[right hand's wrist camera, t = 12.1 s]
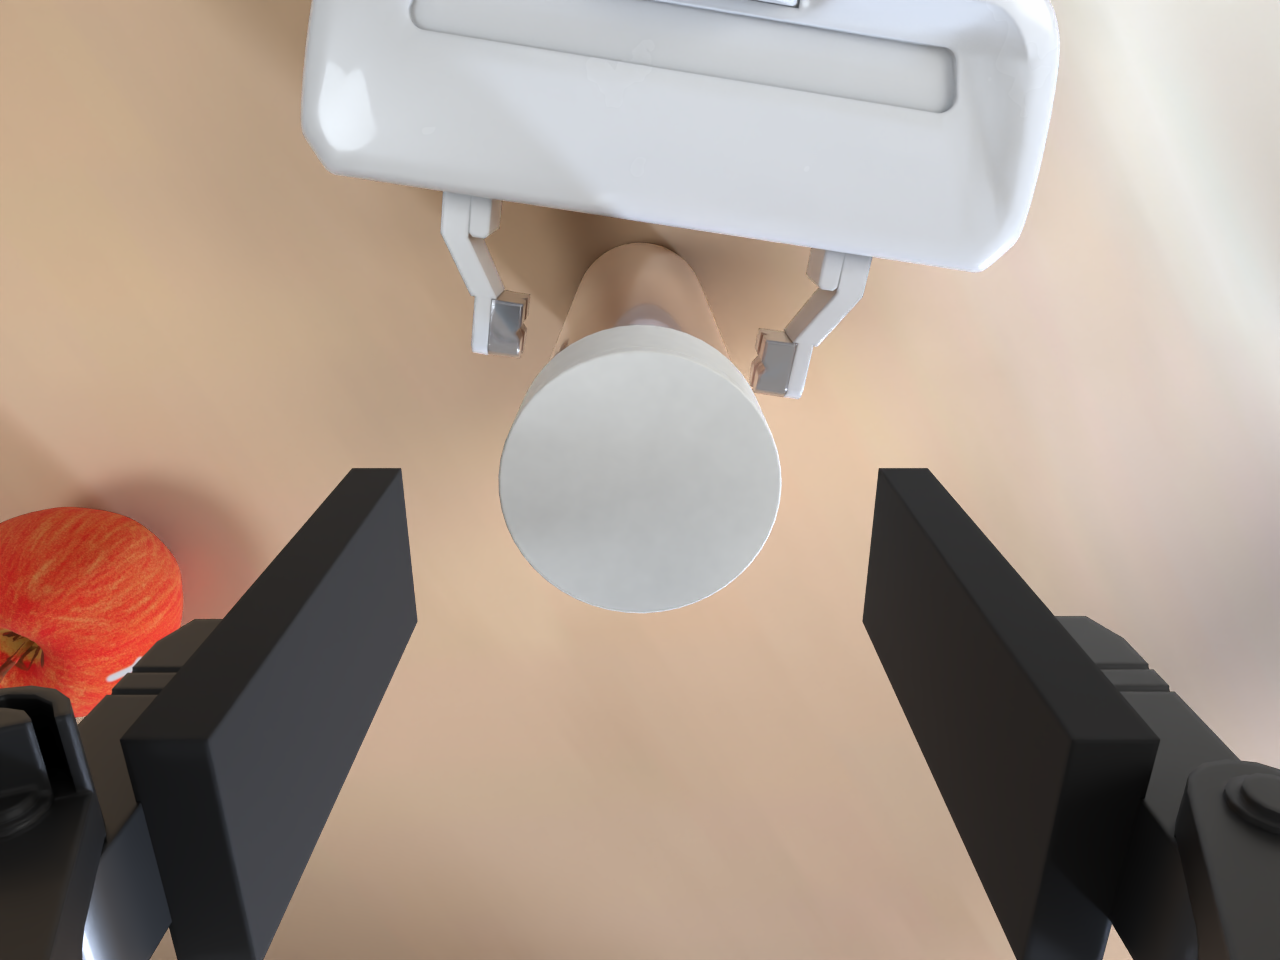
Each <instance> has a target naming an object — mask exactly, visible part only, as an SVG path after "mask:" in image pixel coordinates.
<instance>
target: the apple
mask: <svg viewBox="0 0 1280 960" xmlns="http://www.w3.org/2000/svg"><path fill="white" fill-rule="evenodd" d="M182 610H183V591H182V579H181V574H180V570H179V567H178V564H177V562H176V560H175V558H174V557H173V555H172V554H171V552H170V551H169V549H168V548H167V547H166V546H165V545H164V544H163V543H162V542H161V541H160V540H159V539H158V538H157V537H156V536H155V535H154V534H153V533H152V532H150V531H149V530H148V529H147V528H145V527H144V526H143V525H141V524H139V523H138V522H136V521H134V520H132V519H130V518H128V517H125V516H123V515H120V514H117V513H113V512H109V511H104V510H97V509H89V508H79V507H59V508H51V509H46V510H41V511H36V512H31V513H27V514H24V515H20V516H18V517H15V518H12V519H9V520H7V521H4V522H2V523H0V688H10V687H20V686H31V685H32V686H39V687H46V688H53V689H57V690H58V691H60V692H61V693H62V694H64V695H65V696H67V697H68V698H69V699H70V701H71V705H72V708H73V712H74V715H75V717H83V716H87V715H88V714H89V713H90V711H91V710H92V709H93V708H94V707H95V706H96V705H97V704H98V703H99V702H100V701H101V700H102V699H103V698H104V697H105V696H106V695H111V693H112V688H113V687H114V686H115V685H116V684H117V683H118V682H119V681H120V680H121V679H122V678H123V677H124V676H125V675H126V674H127V673H132V667H133V666H134V665H135V664H136V663H137V662H138V661H139V660H140V659H141V658H142V657H143V656H144V655H145V654H146V653H147V652H148V650H149V649H150V648H151V647H152V646H153V645H154V644H155V643H156V642H157V641H159V640H160V639H162V638H164V637H165V636H167V635H169V634H171V633H172V632H174V631H176V630H177V629H179V628H180V625H181V619H182Z"/></svg>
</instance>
